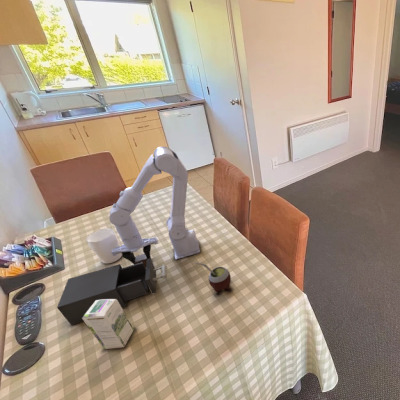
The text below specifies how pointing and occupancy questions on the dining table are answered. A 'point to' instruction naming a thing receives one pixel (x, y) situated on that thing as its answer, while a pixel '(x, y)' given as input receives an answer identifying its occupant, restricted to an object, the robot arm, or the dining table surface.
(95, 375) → the dining table surface
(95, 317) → the syrup box
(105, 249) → the cup
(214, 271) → the mate gourd
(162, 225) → the dining table surface
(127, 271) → the dark grey drawer
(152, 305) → the dining table surface
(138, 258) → the block
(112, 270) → the black drawer box
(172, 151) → the robot arm
